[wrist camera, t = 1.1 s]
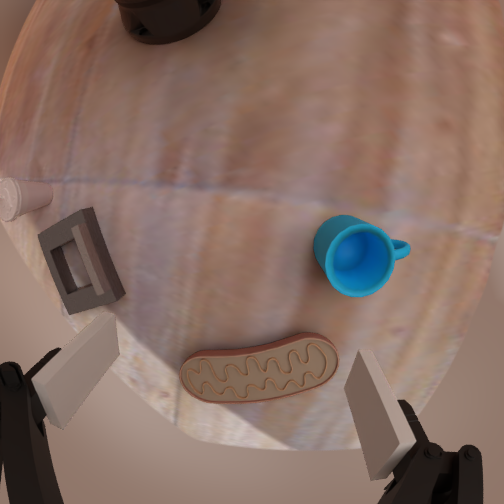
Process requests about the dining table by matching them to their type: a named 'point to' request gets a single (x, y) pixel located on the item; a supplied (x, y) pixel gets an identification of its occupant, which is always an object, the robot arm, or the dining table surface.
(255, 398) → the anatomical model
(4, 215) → the smoothie
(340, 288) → the mug
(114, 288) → the jig
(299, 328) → the dining table surface
